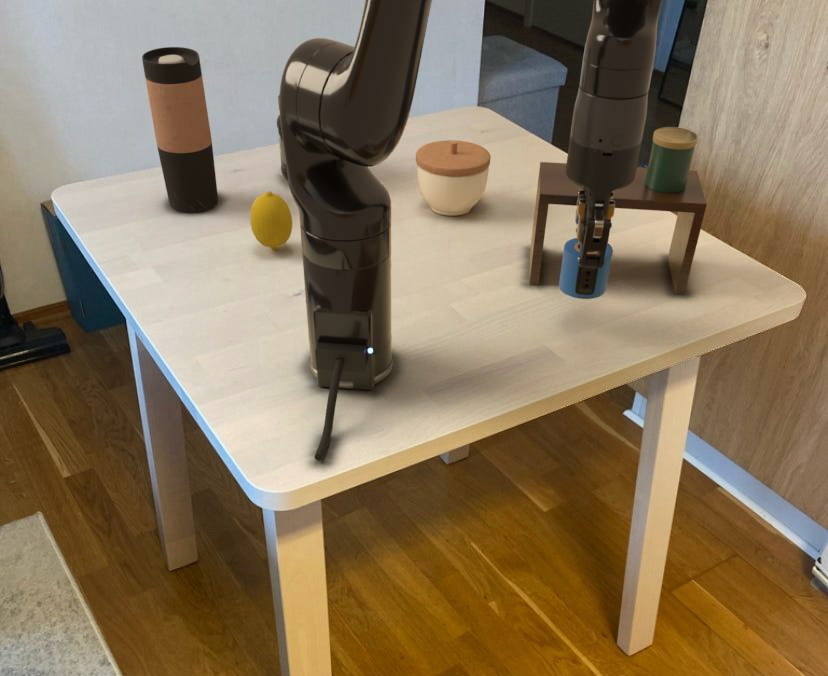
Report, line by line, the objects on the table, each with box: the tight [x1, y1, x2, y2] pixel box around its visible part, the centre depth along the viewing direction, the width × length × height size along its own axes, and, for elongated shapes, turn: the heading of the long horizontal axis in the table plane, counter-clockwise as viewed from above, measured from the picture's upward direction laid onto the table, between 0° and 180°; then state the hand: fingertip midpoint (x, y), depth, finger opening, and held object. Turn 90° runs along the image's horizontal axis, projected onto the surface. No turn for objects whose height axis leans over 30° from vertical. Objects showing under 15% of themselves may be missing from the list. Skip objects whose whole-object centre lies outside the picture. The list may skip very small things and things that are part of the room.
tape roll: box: [558, 237, 614, 300], centre depth 105 cm, size 6×6×5 cm
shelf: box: [528, 161, 708, 296], centre depth 115 cm, size 10×20×12 cm, turn 84°
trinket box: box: [415, 139, 492, 217], centre depth 130 cm, size 11×11×9 cm
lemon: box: [250, 191, 293, 251], centre depth 120 cm, size 6×6×8 cm
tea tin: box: [645, 126, 699, 193], centre depth 109 cm, size 5×5×6 cm
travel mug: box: [141, 46, 219, 214], centre depth 126 cm, size 8×8×20 cm
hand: (583, 279), depth 106 cm, fingers closed on tape roll, 5 cm apart
